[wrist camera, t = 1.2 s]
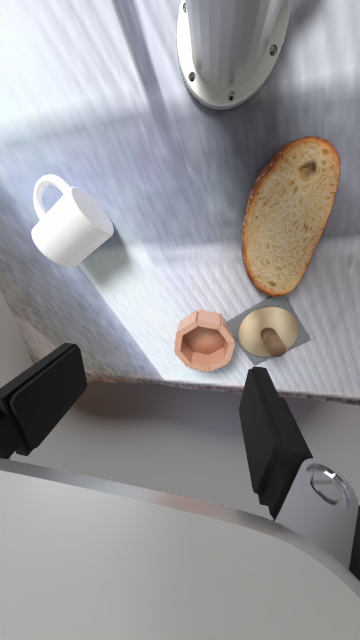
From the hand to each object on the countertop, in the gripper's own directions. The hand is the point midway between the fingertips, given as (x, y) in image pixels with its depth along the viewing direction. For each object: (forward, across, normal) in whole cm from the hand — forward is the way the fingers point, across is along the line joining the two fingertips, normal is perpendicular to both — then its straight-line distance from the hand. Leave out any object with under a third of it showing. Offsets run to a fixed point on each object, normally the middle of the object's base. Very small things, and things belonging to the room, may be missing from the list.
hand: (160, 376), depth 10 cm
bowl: (+28, -3, +12) cm, 30 cm away
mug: (+28, +22, -9) cm, 36 cm away
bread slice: (+27, -14, -9) cm, 32 cm away
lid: (+27, -15, +9) cm, 32 cm away
